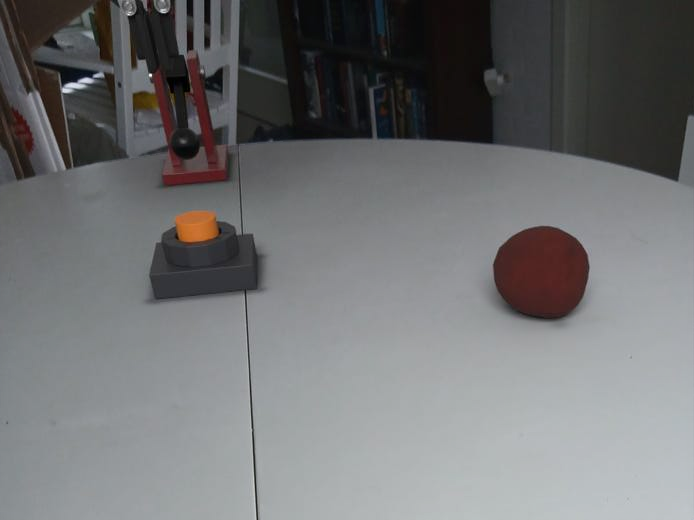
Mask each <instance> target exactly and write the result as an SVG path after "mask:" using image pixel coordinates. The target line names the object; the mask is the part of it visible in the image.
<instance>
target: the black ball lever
mask: <svg viewBox="0 0 694 520" xmlns="http://www.w3.org/2000/svg"><path fill="white" fill-rule="evenodd" d="M173 62H174V66H173V69H172V72H165V75H166V80H167V83H168V87H169V92H170V95H172V94H173V100H174V107H175V108H174V111H175V119H176V123H177V129H175V130H174V131H173V132H172V133H171V135H170V140H169V143H170V147H171V150H172V151H173V153H174V154H175V155H176V156H177V157H179V158H181V159H184V160H189V159H192V158H194V157H195V156H196V155H197V154H198V152H199V149H200V147H201V142H200V138H199V137H198V134H197V133H196V132H195V131H194V130H193V129H191V128H190V127H189V118H188V110H187V100H186V93H191V80H190V75H189V70H188V66H187V61H186V57H185V54H179V57H173Z"/></svg>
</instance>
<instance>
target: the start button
mask: <svg viewBox="0 0 694 520" xmlns="http://www.w3.org/2000/svg"><path fill="white" fill-rule="evenodd" d="M217 221H218V220H217V217H216V213H214V212H212V211H210V210H192V211H188V212H183V213H180V214H179V215H177V216H176V217H175V218H174V225H175V226H176V230H177V234H178V238H179V241H184V242H196V241H205V240H208V239H212V238H215V237H216V236H218V235H219V230H218V226H217Z"/></svg>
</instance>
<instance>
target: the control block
mask: <svg viewBox="0 0 694 520" xmlns="http://www.w3.org/2000/svg"><path fill="white" fill-rule="evenodd" d="M216 221H217V226H218V230H219V235H218V236H216V237H215V238H212V239H208V240H205V241H196V242H184V241H179V238H178V234H177V230H176V225H175V226H172V227H171V228H169V229H168V230H166V231H164V232H162V233H161V239H160V242H156V243H155V247H154V252H153V256H152V261H151V266H150V271H149V275H148V277H149V280H150V284H151V287H152V291H153V294H154V299H155V300H161V299H171V298H181V297H190V296H200V295H209V294H210V295H211V294H219V293H229V292H238V291H240V292H241V291H248V290H256V289H257V288H258V253H257V249H256V243H255V237H254V233H245V234H237V230H236V226H234V225H233V224H231V223H228V222H226V221H220V220H216Z"/></svg>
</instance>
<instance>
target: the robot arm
mask: <svg viewBox="0 0 694 520" xmlns="http://www.w3.org/2000/svg"><path fill="white" fill-rule="evenodd" d="M110 2H112V3H113V4H114V5H115V6H116V7H118V8H119V9H120V10H121V12H122V13H123V14H124V15H125V16H127V20H128V25H129V29H130V33H131V37H132V42H133V47H134V50H135V55H136V58H137V60H138V61H145V63H146V64H145V65H146V68H147V71H148V72H149V74H150V73H156V71H158V69H159V66H160V64H161V68H162V71H164V70H165V72H172V69H173V66H174V62H173V57H179V55H180V50H179V45H178V40H177V36H176V30H175V26H174V20H173V15H172V12H171V8H172V6H173V4H174V3H175V2H176V0H152V2H151V4H150V6H151V13H150V12H149V10H147V9H146V8H145V6H144V2H143V0H110ZM158 55H159V56H158ZM159 59H160V60H159ZM148 72H147V73H148ZM149 74H148V75H149Z"/></svg>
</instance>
